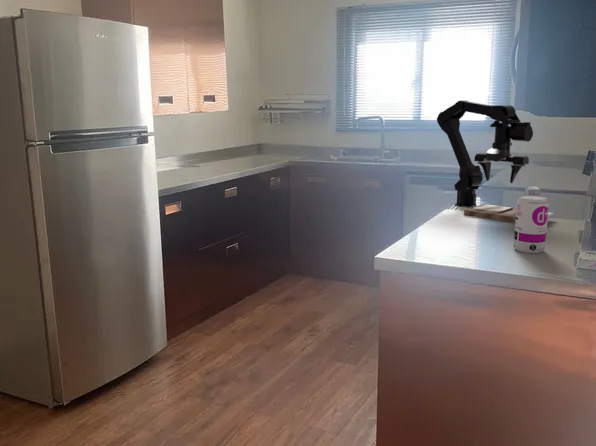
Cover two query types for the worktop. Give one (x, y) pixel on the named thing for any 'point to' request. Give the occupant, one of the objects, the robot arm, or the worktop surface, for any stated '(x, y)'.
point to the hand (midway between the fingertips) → (499, 181)
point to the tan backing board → (492, 212)
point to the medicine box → (532, 191)
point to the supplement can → (531, 224)
